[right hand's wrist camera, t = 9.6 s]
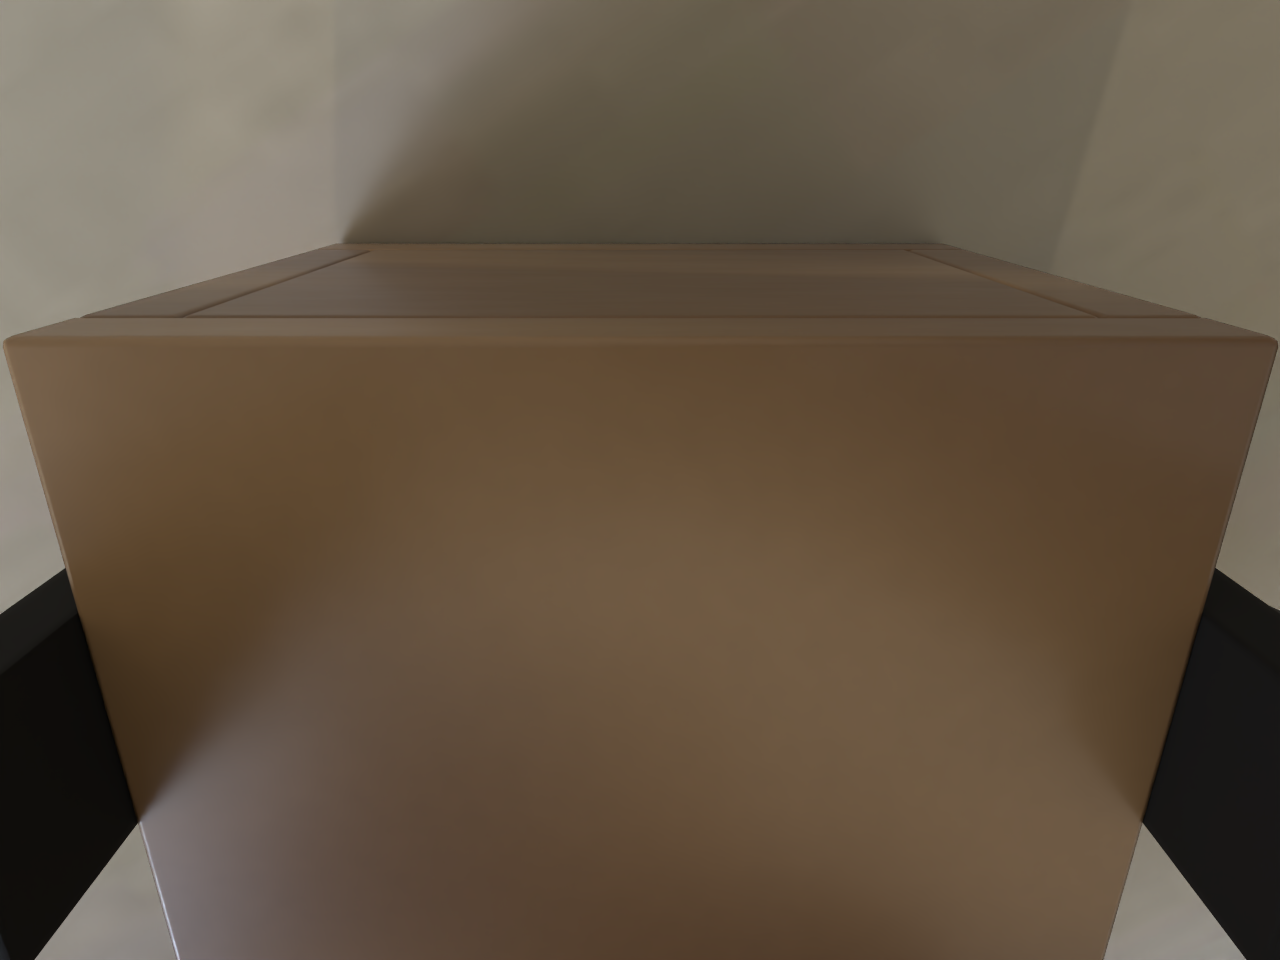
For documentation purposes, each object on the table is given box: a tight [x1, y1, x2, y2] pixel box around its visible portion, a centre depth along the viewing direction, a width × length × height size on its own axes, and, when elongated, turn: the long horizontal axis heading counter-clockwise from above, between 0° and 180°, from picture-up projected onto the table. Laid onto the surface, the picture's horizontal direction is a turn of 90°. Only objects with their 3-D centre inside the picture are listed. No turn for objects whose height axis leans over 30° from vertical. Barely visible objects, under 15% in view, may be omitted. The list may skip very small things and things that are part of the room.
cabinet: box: [3, 244, 1278, 960], centre depth 14 cm, size 17×11×9 cm
